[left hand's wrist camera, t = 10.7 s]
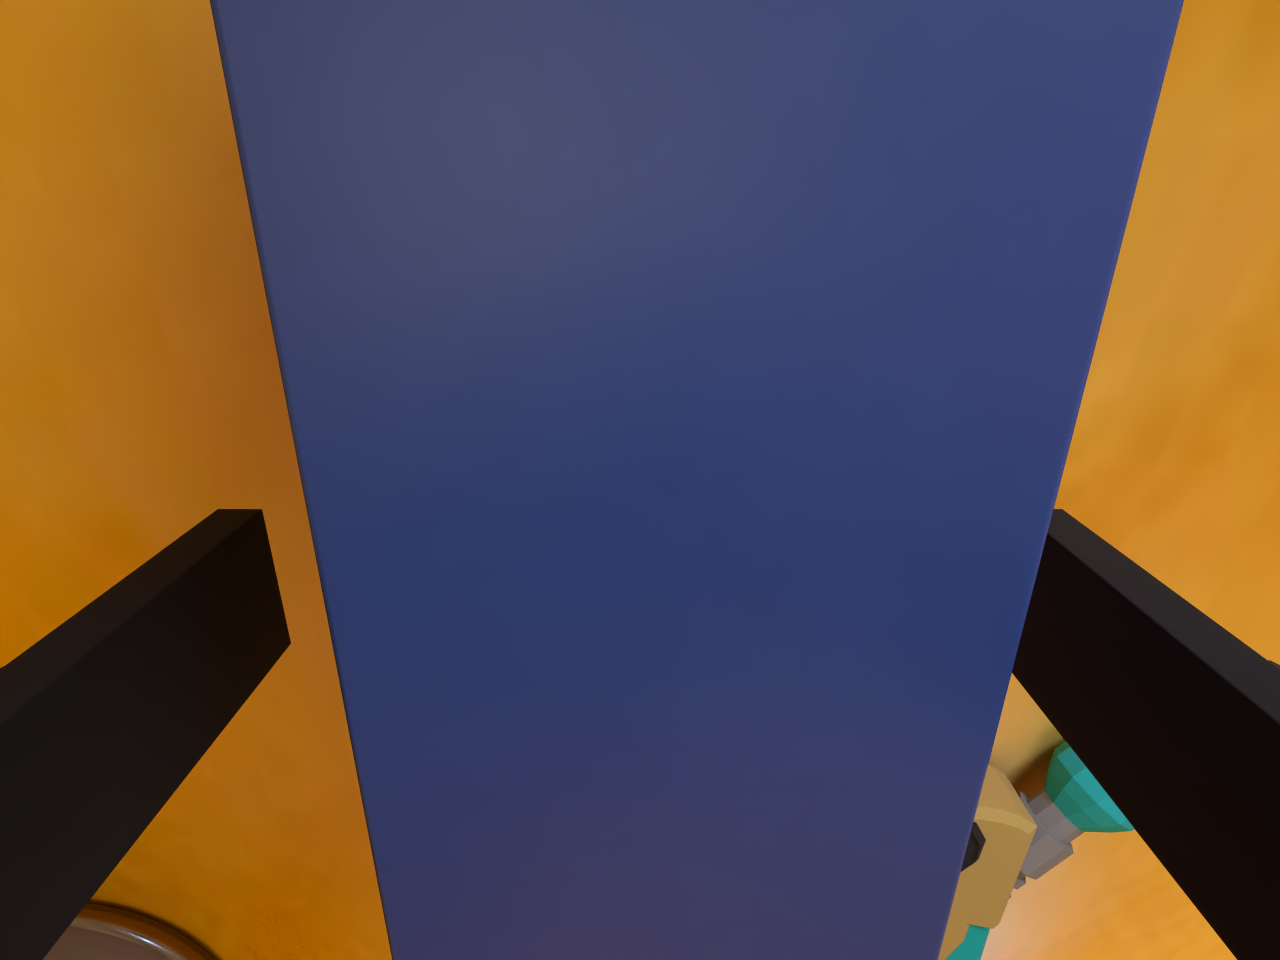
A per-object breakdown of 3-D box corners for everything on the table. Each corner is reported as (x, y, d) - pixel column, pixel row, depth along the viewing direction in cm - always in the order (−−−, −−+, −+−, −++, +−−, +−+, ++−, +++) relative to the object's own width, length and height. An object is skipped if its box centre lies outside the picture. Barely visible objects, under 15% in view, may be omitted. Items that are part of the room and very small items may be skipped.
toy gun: (624, 1050, 35) (888, 1126, 37) (904, 647, 26) (1231, 778, 28) (626, 959, 39) (864, 1032, 41) (868, 584, 30) (1156, 702, 32)
